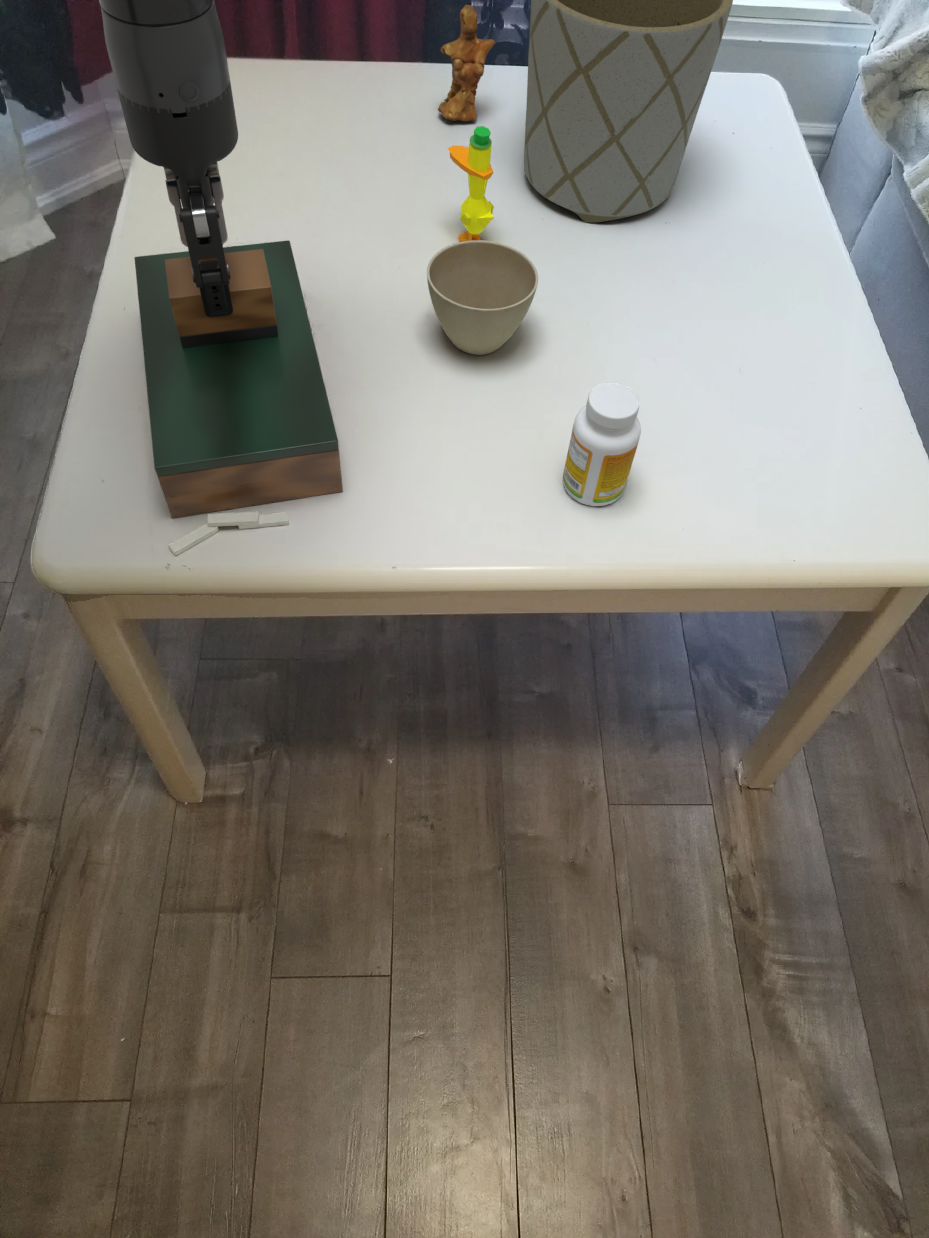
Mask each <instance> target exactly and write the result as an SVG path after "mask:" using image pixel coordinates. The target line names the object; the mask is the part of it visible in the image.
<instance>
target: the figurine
mask: <svg viewBox="0 0 929 1238" xmlns="http://www.w3.org/2000/svg"><path fill="white" fill-rule="evenodd" d="M459 22H460V23H459V26H460V34H459V37H458V38H457V39H455V40H452V41H450V42H448V43H445V44H443V45H442V46H441V48H440V53H442V55H443V56H448V57H449V59H450V61H451V79H452V80H451V85H450V90H449V91H448V92H447V95H446V98H445V99H444V100H443V102H440V104H439V105H438V108H437V111H438V113H440V114H441V116H442V117H443V118H445V120H448V121H453V122H456V121H461V122H471V121H476V119H477V118H478V116H477V110H476V96H477V89H478V87H479V86H478V84H479V82H480V80H481V78H482V77H483V76H484V73H485V62H486V59H487V55H488V54H489V52H490V51H491V49H492V48H493V47H494V46H495V45H496V41H495V39H492V38H488V39H481V38H478V37H477V35H478V34H477V30H478V14H477V12H476V10H475V6H473V5H470V4H464V6H463V7H462V8H461V9H460V11H459Z"/></svg>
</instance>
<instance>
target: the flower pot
mask: <svg viewBox="0 0 929 1238" xmlns="http://www.w3.org/2000/svg"><path fill="white" fill-rule="evenodd" d="M426 279H427V289H428V292H429V296H430V300H431V304H432V307H433V309H434V312H435V315H436V317H437V320H438V322H439V324H440V326H441V328H442V329H443V331H444V333H445V335H446V336H447V337H448V338H449V340H450V341H451V342H452V344H453V345H454V346H455V347H456V348H457V349H459V351H462V352H464V353H465V354H466V353H467V354H470V355H475V356H478V355H479V356H482V355H488V354H491V353H494V352H495V351H497V350H499V349H500V348H501V347H502V346H503V345H504V344H505V343H506V342H507V341H508V340H509V339H511V337H512V336H513V335H514V333H515V332H516V330H518V328H519V327H520V325H521V324H522V323H523V320H524V319H525V318H526V316H527V314H528V311H529V309H530V307H531V305H532V303H533V302H532V301H533V300H534V297H535V294H536V292H537V288H538V285H539V274H538V271H537V268H536V266H535V265H534V263H533V261H532V260H530V258H529V257H528V256H527V255H525V254H524V253H522V252H521V251H520V250H518V249H516V248H514V247H513V246H510V245H508V244H505V243H501V242H497V241H493V240H484V239H483V240H482V239H481V240H471V241H463V242H461V241H459V242H456V243H452V244H449V245H447V246H445V247H443V248H441V249H440V250H438V251H437V252H436V253H435V254H434V255H433V256H432V257H431V259H430V260H429V262H428V264H427V267H426Z"/></svg>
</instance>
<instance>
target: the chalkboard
mask: <svg viewBox="0 0 929 1238" xmlns="http://www.w3.org/2000/svg"><path fill="white" fill-rule="evenodd" d="M259 249H263V251H264V255H265V260H266V265H267V270H268V274H269V279H270V284H271V289H272V296H273V302H274V309H275V316H276V322H277V329H278V336H276V337H268V338H260V339H252V340H244V341H236V342H228V343H220V344H212V345H204V346H195V347H187V348H182V345H181V341H180V337H179V334H178V330H177V326H176V322H175V318H174V315H173V311H172V307H171V303H170V299H169V292H168V284H167V275H166V267H165V260H166V259H175V258H184V257H190V254H189V250H186V251H177V252H167V253H157V254H148V255H139V256H134V267H135V268H134V269H135V277H136V278H135V279H136V288H137V297H138V299H137V300H138V309H139V311H138V312H139V319H140V320H139V322H140V329H141V340H142V341H141V342H142V350H143V353H142V354H143V362H144V363H143V364H144V372H145V374H144V375H145V381H146V382H145V384H146V392H147V403H148V404H147V405H148V415H149V425H150V434H151V436H150V437H151V447H152V455H153V456H152V458H153V467H154V471H155V474H156V477H157V480H158V483H159V485H160V486H159V487H160V488H161V491H162V494H163V497H164V500H165V503H166V507H167V508H168V512H169V514H170V518H171V519H175V518H181V517H182V518H183V517H189V516H196V515H201V514H202V515H203V514H209V513H216V512H221V511H226V510H234V509H239V508H246V507H252V506H260V505H264V504H266V505H267V504H271V503H278V502H284V501H291V500H297V499H302V498H310V497H317V496H323V495H329V494H335V493H341V492H343V491H344V490H343V479H342V478H343V477H342V468H341V457H340V444H339V438H338V435H337V431H336V427H335V422H334V418H333V414H332V409H331V406H330V402H329V397H328V394H327V393H328V392H327V390H326V384H325V380H324V377H323V373H322V369H321V364H320V361H319V356H318V352H317V348H316V344H315V339H314V336H313V332H312V328H311V323H310V318H309V314H308V310H307V307H306V303H305V298H304V294H303V290H302V286H301V281H300V278H299V273H298V269H297V265H296V260H295V257H294V253H293V249H292V244H291V241H290V240H288V239H287V240H279V241H269V242H259V243H251V244H242V245H233V246H223V250H224V253H231V252H240V251H250V250H259Z"/></svg>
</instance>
